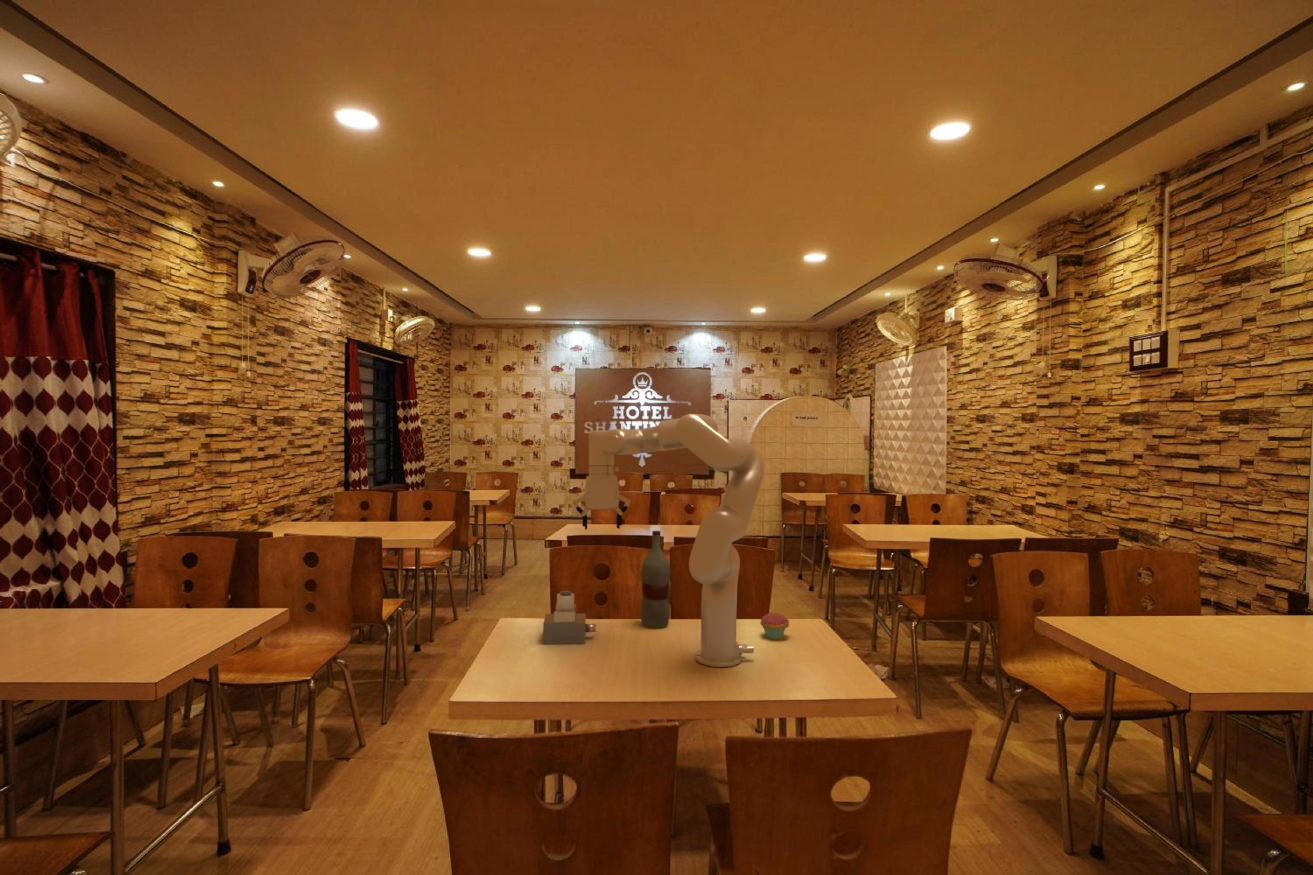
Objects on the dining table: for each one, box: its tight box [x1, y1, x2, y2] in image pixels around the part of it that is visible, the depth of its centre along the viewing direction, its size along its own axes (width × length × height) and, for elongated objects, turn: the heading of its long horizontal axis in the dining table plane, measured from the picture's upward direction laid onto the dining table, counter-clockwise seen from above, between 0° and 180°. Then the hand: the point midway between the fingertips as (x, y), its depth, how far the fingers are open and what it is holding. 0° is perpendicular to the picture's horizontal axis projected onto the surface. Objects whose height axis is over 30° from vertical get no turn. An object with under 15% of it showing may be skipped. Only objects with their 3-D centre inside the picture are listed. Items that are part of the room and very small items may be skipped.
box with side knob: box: [542, 603, 597, 646], centre depth 187 cm, size 15×12×9 cm
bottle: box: [640, 530, 671, 630], centre depth 201 cm, size 9×9×30 cm
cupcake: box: [760, 597, 790, 640], centre depth 190 cm, size 9×8×12 cm
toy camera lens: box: [556, 590, 575, 611], centre depth 186 cm, size 5×5×8 cm
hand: (602, 528), depth 188 cm, fingers open, 9 cm apart
